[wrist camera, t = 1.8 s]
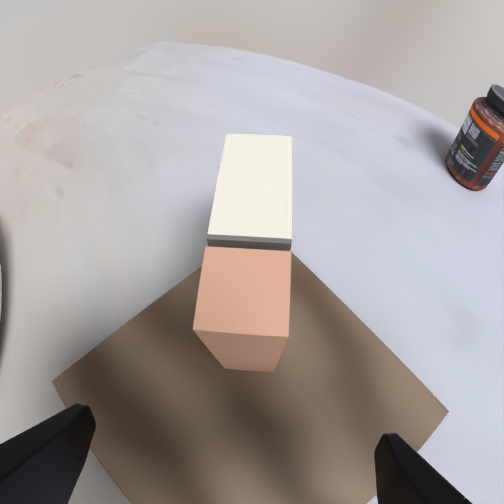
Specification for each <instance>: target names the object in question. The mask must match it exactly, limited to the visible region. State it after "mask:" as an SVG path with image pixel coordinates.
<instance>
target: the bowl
mask: <svg viewBox="0 0 504 504" xmlns="http://www.w3.org/2000/svg"><path fill="white" fill-rule="evenodd" d="M1 304H2V278H1V265H0V320H1Z"/></svg>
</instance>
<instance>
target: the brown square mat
mask: <svg viewBox="0 0 504 504" xmlns="http://www.w3.org/2000/svg"><path fill="white" fill-rule="evenodd" d="M201 270H202V267H200V268H199V269H198V270H196V271H195V272H194V273H192V274H191V275H190V276H188V277H187V278H186V279H184V280H183V281H182V282H180V283H179V284H178V285H176V286H175V287H174V288H172V289H171V290H170V291H168V292H167V293H166V294H164V295H163V296H162V297H160V298H159V299H158V300H156V301H155V302H154V303H153V304H151V305H150V306H149V307H147V308H146V309H145V310H143V311H142V312H141V313H139V314H138V315H137V316H135V317H134V318H133V319H132V320H130V321H129V322H128V323H126V324H125V325H124V326H122V327H121V328H120V329H118V330H117V331H116V332H115V333H113V334H112V335H111V336H109V337H108V338H107V339H106V340H104V341H103V342H102V343H100V344H99V345H98V346H97V347H95V348H94V349H93V350H91V351H90V352H89V353H88V354H86V355H85V356H84V357H82V358H81V359H80V360H79V361H77V362H76V363H75V364H73V365H72V366H71V367H70V368H68V369H67V370H66V371H65V372H63V373H62V374H61V375H59V376H58V377H57V378H56V379H54V380H53V381H52V382H53V384H54V386H55V388H56V390H57V392H58V394H59V396H60V397H61V399H62V401H63V403H64V405H65V407H66V408H68V407H70V406H72V405H73V404H75V403H83V404H86V405H88V406H89V407H90V408H91V411H92V413H93V416H94V419H95V421H96V429H95V432H94V435H93V438H92V441H91V445H90V448H91V450H92V451H93V453H94V454H95V456H96V457H97V459H98V460H99V461H100V463H101V464H102V466H103V467H104V468H105V470H106V471H107V473H108V474H109V475H110V477H111V478H112V479H113V481H114V482H115V483H116V485H117V486H118V487H119V488H120V490H121V491H122V492H123V493H124V495H125V496H126V497H127V498H128V500H129V501H130V502H131V503H132V504H367V503H368V502H369V501H370V500H371V499H372V498H373V497H374V496H375V495H376V494H377V489H376V473H375V460H374V452H375V448H376V446H377V444H378V442H379V440H380V438H381V436H382V435H383V434H385V433H392V432H395V433H397V434H398V435H399V436H400V437H402V438H403V439H404V440H405V441H406V442H407V443H408V444H409V445H410V446H411V447H412V448H413V449H414V450H415V451H416V452H417V451H418V450H419V449H420V448H421V447H422V445H423V444H424V443H425V442H426V441H427V439H428V438H429V437H430V436H431V434H432V433H433V432H434V431H435V429H436V428H437V427H438V425H439V424H440V423H441V421H442V420H443V419H444V417H445V416H446V415H447V413H448V412H449V411H448V410H447V409H446V408H445V407H444V405H443V404H442V403H441V402H440V401H439V400H438V399H437V398H436V397H435V396H434V395H433V394H432V393H431V392H430V391H429V390H428V389H427V387H426V386H425V385H424V384H423V383H422V382H421V381H420V380H419V379H418V378H417V377H416V376H415V375H414V374H413V373H412V372H411V371H410V370H409V369H408V368H407V367H406V366H405V365H404V364H403V362H402V361H401V360H400V359H399V358H398V357H397V356H396V355H395V354H394V353H393V352H392V351H391V350H390V349H389V348H388V347H387V346H386V345H385V344H384V343H383V342H382V341H381V340H380V339H379V338H378V337H377V336H376V335H375V334H374V333H373V332H372V331H371V330H370V329H369V328H368V327H367V326H366V325H365V324H364V323H363V322H362V321H361V320H360V319H359V318H358V317H357V316H356V315H355V314H354V313H353V312H352V311H351V310H350V309H349V308H348V307H347V306H346V305H345V304H344V303H343V302H342V301H341V300H340V299H339V298H338V297H337V296H336V295H335V294H334V293H333V292H332V291H331V290H330V289H329V288H328V287H327V286H326V285H325V284H324V283H323V282H322V281H321V280H320V279H319V278H318V277H317V276H316V275H315V274H314V273H313V272H312V271H311V270H310V269H309V268H308V267H307V266H305V265H304V264H303V263H302V262H301V261H300V260H299V259H298V258H297V257H296V256H295V255H294V254H293V253H292V252H291V285H290V313H289V337H288V339H287V342H286V344H285V347H284V349H283V351H282V354H281V356H280V358H279V361H278V363H277V366H276V368H275V370H274V372H258V371H244V370H233V369H225V368H224V367H223V366H222V365H221V364H220V363H219V361H218V360H217V359H216V358H215V357H214V355H213V354H212V353H211V352H210V350H209V349H208V348H207V347H206V346H205V344H204V343H203V342H202V341H201V339H200V338H199V337H198V336H197V334H196V333H195V332H194V330H193V324H194V317H195V310H196V303H197V296H198V289H199V283H200V277H201Z"/></svg>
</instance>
